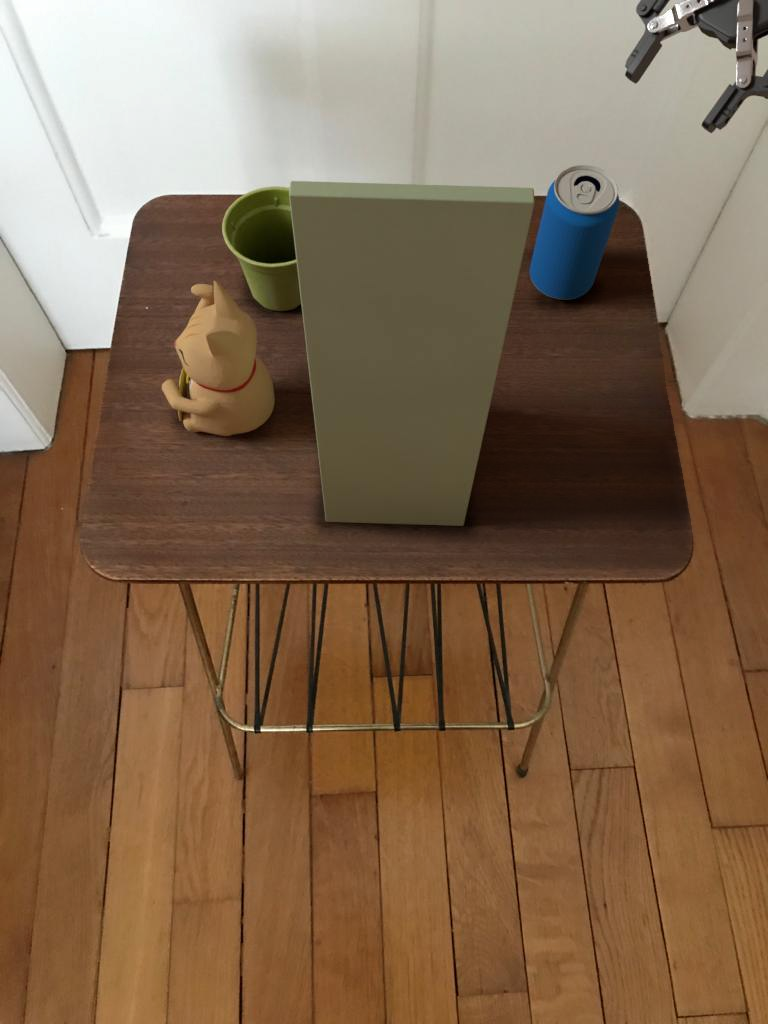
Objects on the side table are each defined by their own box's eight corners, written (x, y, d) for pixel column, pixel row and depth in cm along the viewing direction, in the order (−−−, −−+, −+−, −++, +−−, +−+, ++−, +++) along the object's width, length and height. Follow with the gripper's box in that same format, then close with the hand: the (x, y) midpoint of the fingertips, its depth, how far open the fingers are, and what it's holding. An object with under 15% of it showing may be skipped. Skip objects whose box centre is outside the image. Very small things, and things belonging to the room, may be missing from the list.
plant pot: (329, 250, 91) (325, 185, 83) (330, 325, 87) (325, 265, 79) (237, 251, 91) (224, 186, 83) (233, 327, 87) (219, 266, 79)
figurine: (178, 364, 85) (141, 255, 71) (281, 368, 85) (263, 260, 71) (165, 443, 81) (124, 344, 68) (273, 447, 81) (253, 348, 68)
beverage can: (599, 263, 91) (630, 171, 80) (584, 312, 88) (614, 224, 77) (537, 246, 92) (559, 153, 81) (520, 294, 89) (541, 205, 78)
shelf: (462, 405, 83) (524, 31, 49) (463, 526, 78) (534, 202, 44) (333, 401, 83) (305, 25, 49) (325, 522, 78) (288, 195, 44)
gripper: (717, -144, 72) (593, 52, 78) (871, -63, 67) (725, 137, 74) (733, -102, 78) (617, 75, 85) (874, -25, 74) (740, 155, 81)
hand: (667, 104), depth 79 cm, fingers open, 8 cm apart
